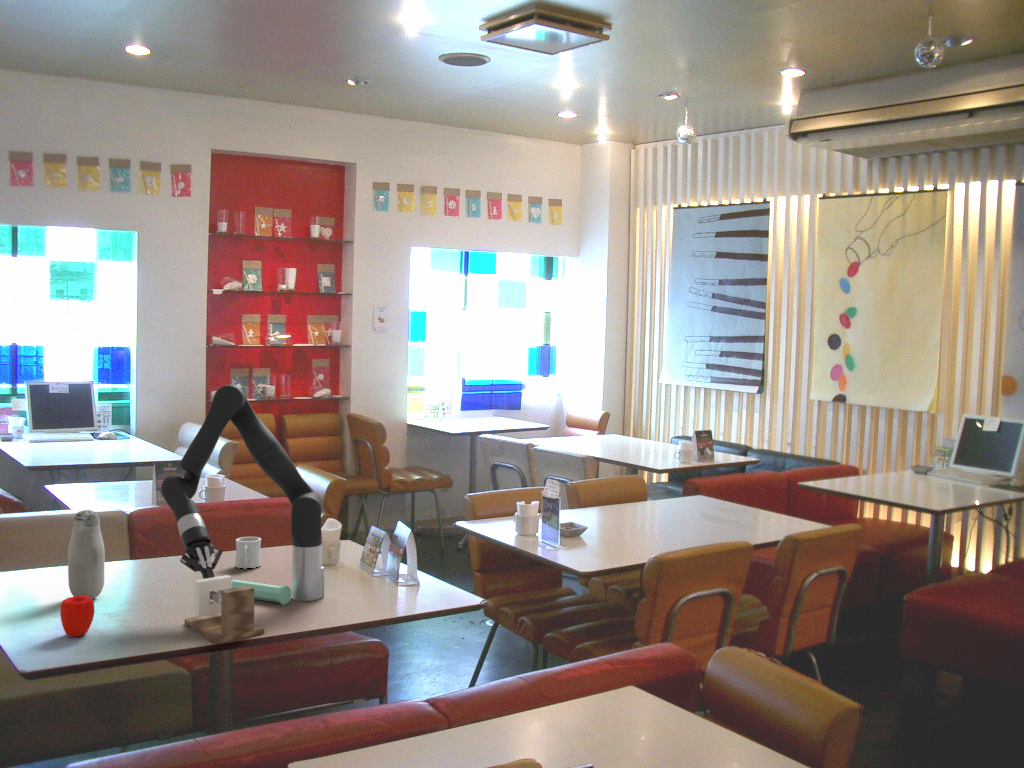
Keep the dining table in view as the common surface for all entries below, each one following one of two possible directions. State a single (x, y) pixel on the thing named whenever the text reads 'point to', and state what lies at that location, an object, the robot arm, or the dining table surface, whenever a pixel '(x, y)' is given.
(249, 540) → the mug
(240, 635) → the rod rig
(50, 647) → the dining table surface
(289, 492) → the robot arm
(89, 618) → the apple
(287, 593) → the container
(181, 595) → the dining table surface
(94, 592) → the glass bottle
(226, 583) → the white square block
